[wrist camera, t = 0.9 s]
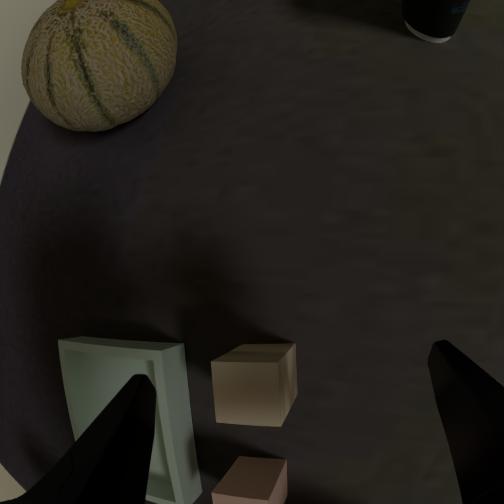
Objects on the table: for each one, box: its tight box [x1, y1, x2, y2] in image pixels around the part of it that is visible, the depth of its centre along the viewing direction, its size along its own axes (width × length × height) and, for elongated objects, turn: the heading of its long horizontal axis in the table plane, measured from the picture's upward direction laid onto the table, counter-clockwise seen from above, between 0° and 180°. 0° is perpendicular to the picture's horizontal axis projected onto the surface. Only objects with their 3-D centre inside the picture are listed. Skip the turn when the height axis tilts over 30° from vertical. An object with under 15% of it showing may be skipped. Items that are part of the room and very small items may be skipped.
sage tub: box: [58, 336, 202, 504], centre depth 24 cm, size 15×12×4 cm
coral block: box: [211, 456, 287, 504], centre depth 19 cm, size 4×4×6 cm
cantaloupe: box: [21, 0, 177, 132], centre depth 22 cm, size 15×15×15 cm
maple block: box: [211, 343, 297, 427], centre depth 20 cm, size 4×4×6 cm
